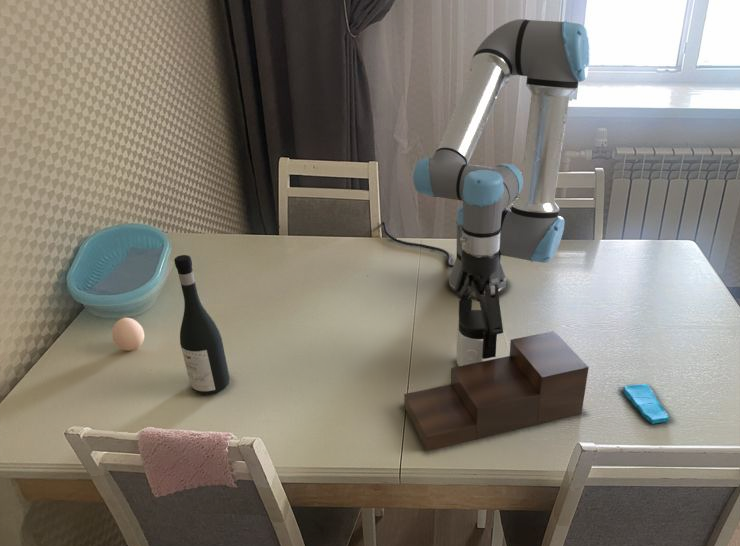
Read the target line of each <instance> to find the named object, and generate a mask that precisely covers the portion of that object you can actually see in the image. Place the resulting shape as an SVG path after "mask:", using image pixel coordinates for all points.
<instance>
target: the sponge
mask: <svg viewBox="0 0 740 546" xmlns="http://www.w3.org/2000/svg"><path fill="white" fill-rule="evenodd" d="M623 394H624V395H625V397H626V399H628V401H631V403H632V405H633V406H634V407H635V408H636V409H637V410H638V411H639V412H640V414H641V416H642V417H643V418H645V419H646V420H647V421H648V422H649V423H651V424H652V425H654V424H659V423H666V422H669V421H670V416H669V414H668V412H667V411H666V410H665V409H664V407H663V405H662V404H661V402H660V401H659V399H658V398H657V396H656V394H655V392H654V391H653V390H652V388H651V386H650V385H649V384H648V383H639V384H632V385H625V386H623Z"/></svg>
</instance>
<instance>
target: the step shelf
mask: <svg viewBox="0 0 740 546" xmlns="http://www.w3.org/2000/svg"><path fill="white" fill-rule="evenodd" d="M588 375H589V366H588V364H586V362H584V361H583V360H582V358H581V357H579V355H578V354H577V353H576V352H575V351H574V350H573V349H572V348H571V347H570V346H569V345H568V344H567V342H565V341H564V340H563V339H562V337H561V336H560V335H559V334H558V333H557V332H556V331H555V330H552V331H547V332H542V333H538V334H537V333H536V334H532V335H526V336H522V337H517V338H513V339H510V344H509V355H507V356H503V357H498V358H497V357H496V359H492V360H488V361H483V362H478V363H473V364H468V365H463V366H455V367H450V383H449V384H444V385H439V386H435V387H431V388H430V387H429V388H425V389H421V390H416V391H411V392H407V393H404V394H403V401H404V403H403V406H404V409H405V412H406V413H407V415H408V417H409V419H410V421H411V423H412V425H413V427H414V430H415V431H416V433H417V435H418V437H419V438H420V441H421V442H422V444H423V447H424V448H425V450H426V452H430V451H432V450H438V449H442V448H445V447H450V446H454V445H457V444H461V443H462V444H463V443H466V442H470V441H474V440H478V439H483V438H487V437H491V436H496V435H500V434H503V433H507V432H512V431H517V430H520V429H526V428H529V427H533V426H536V425H541V424H545V423H550V422H554V421H558V420H562V419H566V418H570V417H574V416H579V415H582V413H583V407H584V401H585V395H586V394H585V393H586V389H587V380H588Z"/></svg>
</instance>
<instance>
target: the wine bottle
mask: <svg viewBox="0 0 740 546" xmlns="http://www.w3.org/2000/svg"><path fill="white" fill-rule="evenodd" d="M173 261H174V265H175V268H176V271H177V274H178V278H179V283H180V286H181V292H182V295H183V301H184V307H183V316H182V319H181V320H182V321H181V325H180V330H179V345H180V349H181V353H182V356H183V360H184V364H185V365H184V366H185V369H186V373H187V376H188V380H189V384H190V387H191V389H192V390H193V391H194V392H195V393H197V394H199V395H205V396H207V395H209V396H210V395H215V394H218V393H220V392H222V391H223V390H225V389H226V388H227V387H228V385H229V383H230V372H229V367H228V363H227V358H226V353H225V348H224V343H223V339H222V335H221V333H220V330H219V329H218V327H217V324H216V323H215V321H214V319H213V318H212V317H211V315H210V314H209V313H208V312H207V310H206V309H205V307H204V305H203V304H202V303H201V300H200V297H199V293H198V289H197V284H196V280H195V275H194V271H193V270H194V269H193V261H192V257H191V256H190V255H188V254H181V255H177V256H176V257H174V260H173Z"/></svg>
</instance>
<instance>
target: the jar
mask: <svg viewBox="0 0 740 546" xmlns="http://www.w3.org/2000/svg"><path fill="white" fill-rule="evenodd" d="M458 325H459V326H458ZM458 325H457V326H456V364H457V367H459V366H463V365H468V364H473V363H478V362H483V361H488V360H492V359H497V356H496V357H492V358H487V359H483V358H482V352H483V331H484V330H486V329H485V324H484V320H483V316H482V311H481V309H472V310H471V311H467V312H464V313H463V314H461V315H460V317H459V316H458ZM498 335H499V334H497V338H498V337H499V336H498ZM497 352H498V341H497V342H496V354H497Z"/></svg>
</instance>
